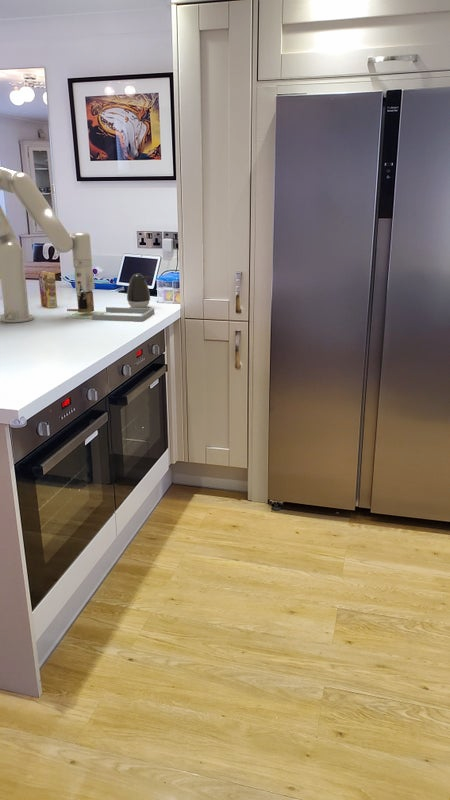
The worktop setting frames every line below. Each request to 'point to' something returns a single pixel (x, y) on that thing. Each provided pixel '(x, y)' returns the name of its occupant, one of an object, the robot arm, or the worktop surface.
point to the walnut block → (89, 304)
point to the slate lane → (146, 311)
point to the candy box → (47, 289)
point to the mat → (85, 315)
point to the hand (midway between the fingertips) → (85, 306)
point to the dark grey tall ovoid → (138, 292)
